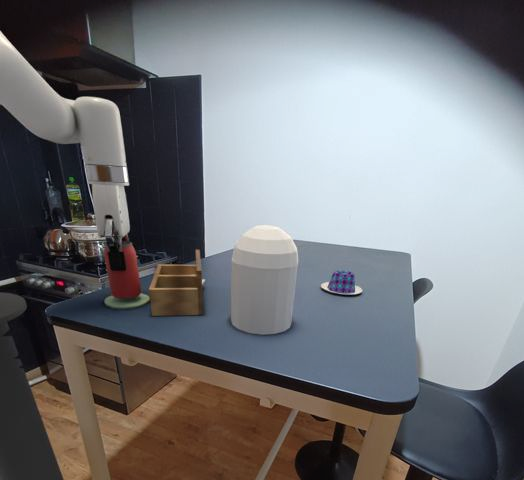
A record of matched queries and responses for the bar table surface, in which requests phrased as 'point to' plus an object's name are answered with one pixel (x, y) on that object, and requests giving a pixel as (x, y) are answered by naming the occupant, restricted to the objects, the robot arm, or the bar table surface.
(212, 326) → the bar table surface
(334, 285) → the pudding
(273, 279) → the container
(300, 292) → the bar table surface
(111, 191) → the robot arm
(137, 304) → the coaster
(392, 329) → the bar table surface
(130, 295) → the beer can
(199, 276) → the box
